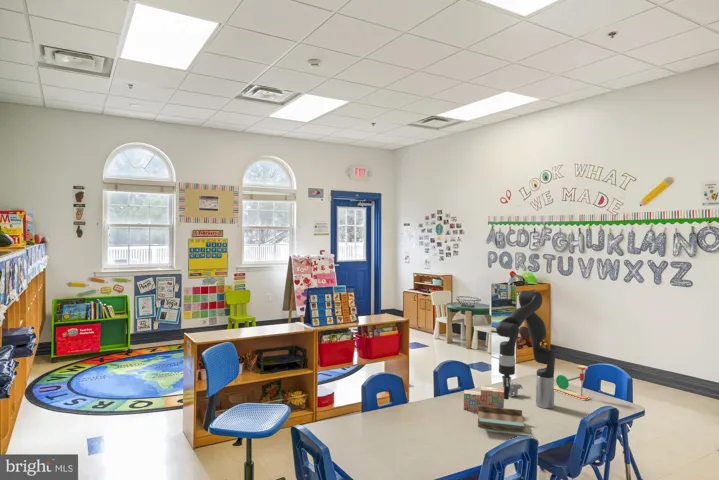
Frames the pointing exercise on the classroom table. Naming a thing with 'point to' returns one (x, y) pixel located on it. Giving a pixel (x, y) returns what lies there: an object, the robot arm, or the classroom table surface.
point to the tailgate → (501, 423)
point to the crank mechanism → (564, 384)
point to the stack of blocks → (483, 398)
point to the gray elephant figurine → (514, 389)
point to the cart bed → (500, 416)
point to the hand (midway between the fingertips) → (506, 398)
